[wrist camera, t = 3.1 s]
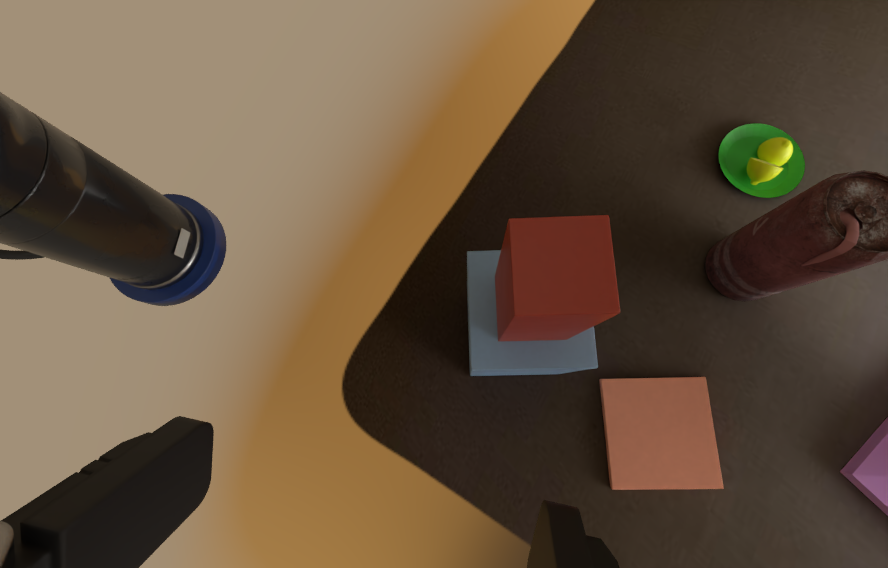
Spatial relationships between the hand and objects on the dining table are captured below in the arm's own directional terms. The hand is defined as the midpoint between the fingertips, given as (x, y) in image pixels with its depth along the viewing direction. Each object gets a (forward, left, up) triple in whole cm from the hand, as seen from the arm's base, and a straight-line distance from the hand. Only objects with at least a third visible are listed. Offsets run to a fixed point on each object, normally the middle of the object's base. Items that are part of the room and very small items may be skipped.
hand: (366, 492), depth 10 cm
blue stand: (+7, +7, -29) cm, 31 cm away
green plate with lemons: (+32, +23, -29) cm, 49 cm away
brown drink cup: (+28, +12, -29) cm, 42 cm away
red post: (+7, +7, -17) cm, 20 cm away
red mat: (+19, -2, -29) cm, 35 cm away
